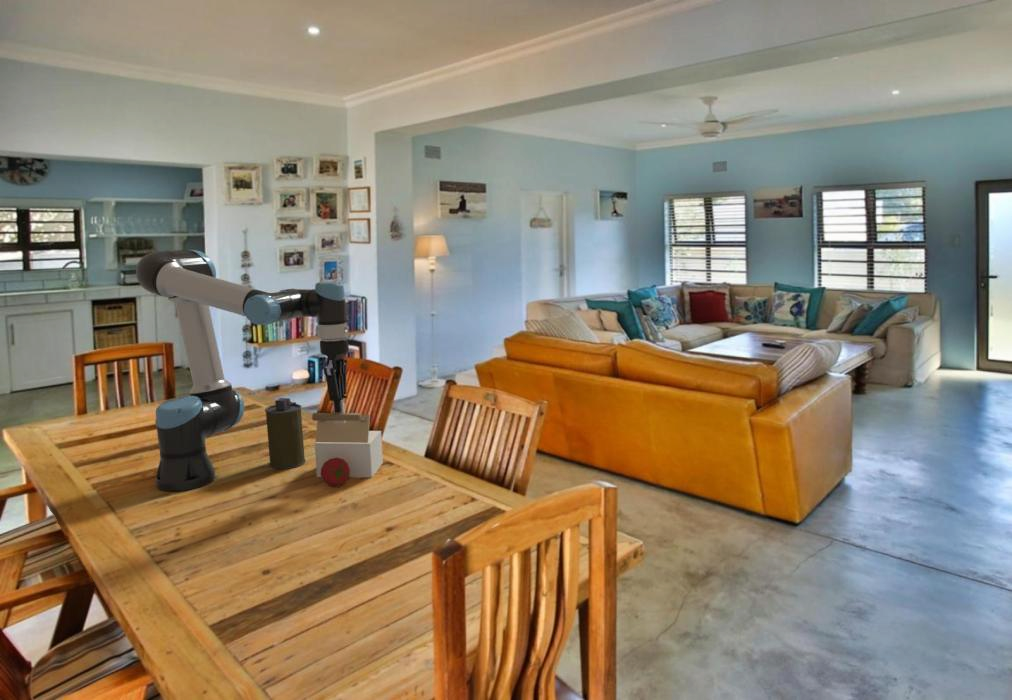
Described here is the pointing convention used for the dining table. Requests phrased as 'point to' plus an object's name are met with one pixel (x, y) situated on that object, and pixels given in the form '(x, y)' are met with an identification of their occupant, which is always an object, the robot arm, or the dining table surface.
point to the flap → (342, 427)
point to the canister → (285, 434)
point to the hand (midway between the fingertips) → (340, 422)
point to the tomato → (335, 472)
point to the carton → (353, 455)
